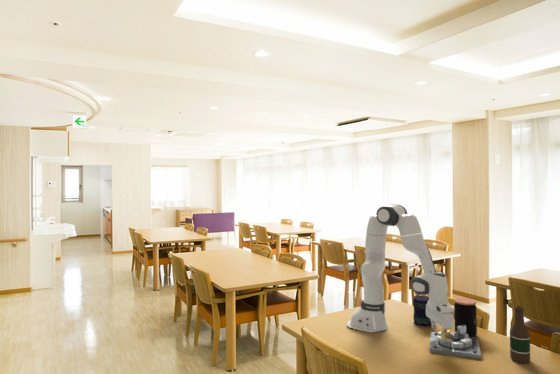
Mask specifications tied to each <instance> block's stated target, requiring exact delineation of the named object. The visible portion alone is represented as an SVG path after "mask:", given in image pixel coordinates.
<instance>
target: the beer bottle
mask: <svg viewBox="0 0 560 374" xmlns="http://www.w3.org/2000/svg"><path fill="white" fill-rule="evenodd" d="M513 309H514V319H513V320H514V321H513V324H512V326H511V327H510V329H509V354H510V355H509V357H510V359H511V360H512V361H513V362H515V363H518V364H529V363H531V337H530V332H529V329H528V328H527V327H526V325H525V319H524V318H525V315H524V311H525V310H524V307H523V306H520V305H515V306H514V308H513Z"/></svg>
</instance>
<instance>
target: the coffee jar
mask: <svg viewBox="0 0 560 374" xmlns="http://www.w3.org/2000/svg"><path fill="white" fill-rule="evenodd" d="M453 302H454V303H453V304H454V305H453V309H454V312H453V320H454V332H455V333H456V332H457V327H458V326H461V325H466V334H468V336H470V337H477V335H478V328H477V327H478V325H477V323H478V322H477V318H478V316H477V305H476V304H477V301H476V300H475V299H472V298H467V297H456V298H453Z"/></svg>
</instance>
